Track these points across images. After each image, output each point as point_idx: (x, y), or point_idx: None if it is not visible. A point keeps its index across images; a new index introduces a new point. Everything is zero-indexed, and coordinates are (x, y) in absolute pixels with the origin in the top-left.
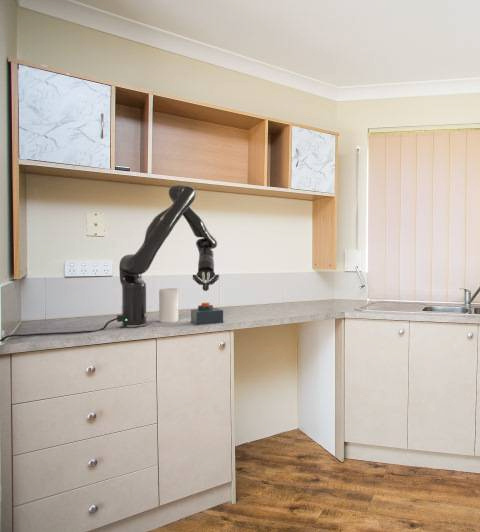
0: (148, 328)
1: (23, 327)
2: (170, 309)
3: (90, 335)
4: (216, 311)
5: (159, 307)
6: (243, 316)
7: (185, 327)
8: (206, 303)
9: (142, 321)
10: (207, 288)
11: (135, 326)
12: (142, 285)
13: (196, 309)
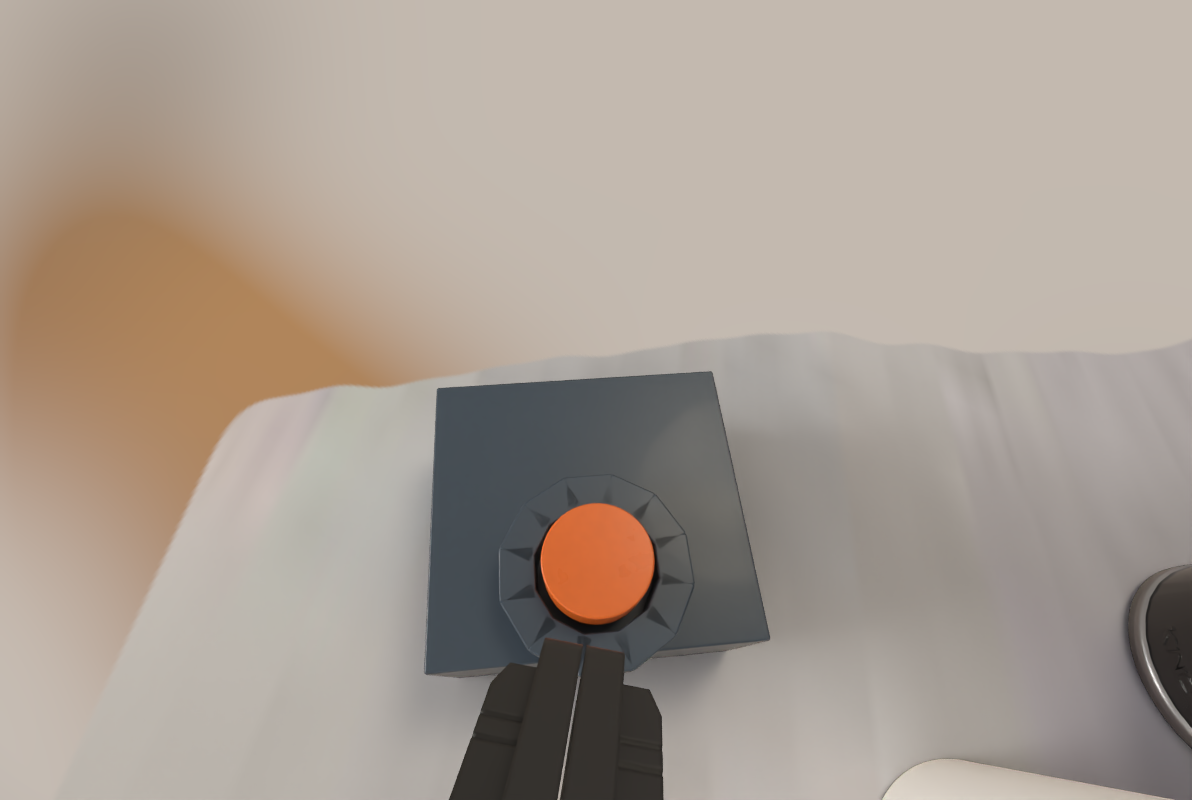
0: (1047, 475)
1: None
2: (1051, 781)
3: None
4: (511, 386)
5: None
6: (78, 793)
7: (770, 381)
8: (592, 504)
9: (1184, 584)
10: (529, 681)
11: (1188, 565)
12: None
13: (702, 613)
